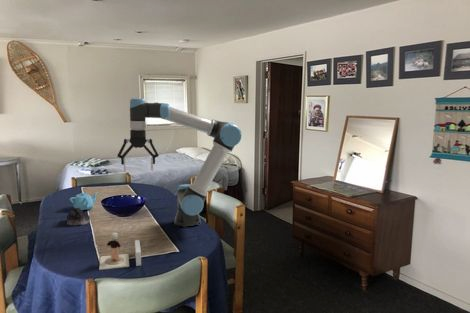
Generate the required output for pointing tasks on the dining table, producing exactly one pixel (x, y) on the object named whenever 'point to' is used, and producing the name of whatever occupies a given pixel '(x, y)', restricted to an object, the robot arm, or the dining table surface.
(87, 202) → the teapot
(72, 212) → the crystal cluster
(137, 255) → the low wall
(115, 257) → the grandmother figurine
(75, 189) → the dining table surface
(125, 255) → the resting pad
